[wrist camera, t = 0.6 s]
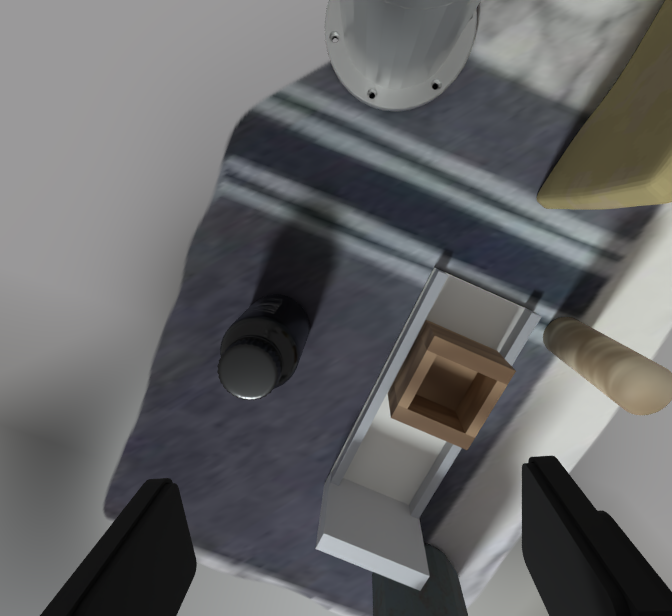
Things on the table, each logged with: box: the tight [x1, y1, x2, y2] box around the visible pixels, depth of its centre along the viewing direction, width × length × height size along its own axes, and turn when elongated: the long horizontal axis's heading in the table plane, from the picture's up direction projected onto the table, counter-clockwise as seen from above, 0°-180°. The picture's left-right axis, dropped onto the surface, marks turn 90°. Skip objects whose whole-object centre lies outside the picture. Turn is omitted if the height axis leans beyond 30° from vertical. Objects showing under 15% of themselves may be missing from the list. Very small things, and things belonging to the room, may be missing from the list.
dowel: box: [543, 317, 672, 415], centre depth 34 cm, size 4×4×12 cm
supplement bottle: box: [218, 294, 309, 400], centre depth 36 cm, size 7×7×12 cm
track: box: [316, 268, 541, 591], centre depth 38 cm, size 28×11×9 cm, turn 157°
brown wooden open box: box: [388, 320, 516, 450], centre depth 38 cm, size 9×8×5 cm
